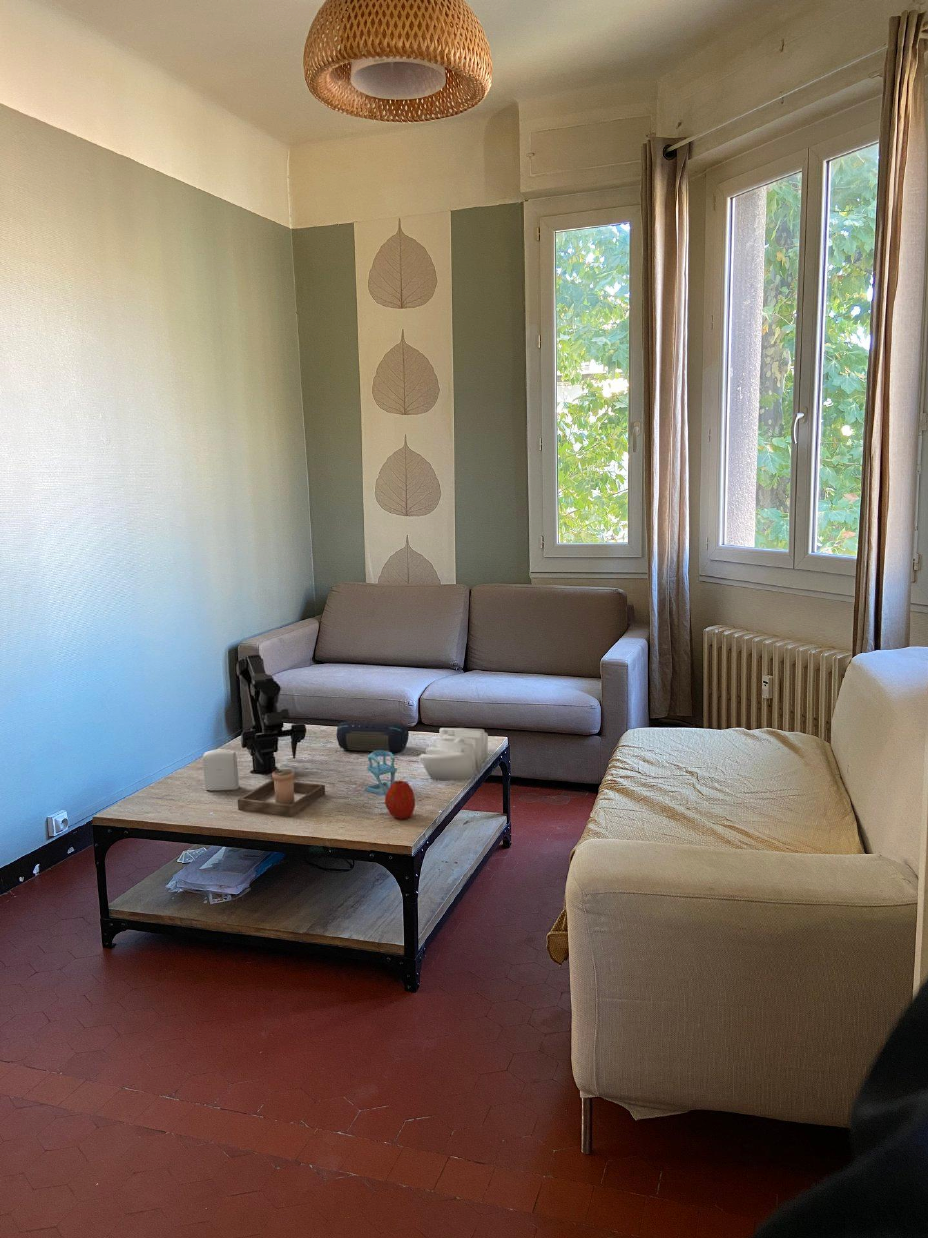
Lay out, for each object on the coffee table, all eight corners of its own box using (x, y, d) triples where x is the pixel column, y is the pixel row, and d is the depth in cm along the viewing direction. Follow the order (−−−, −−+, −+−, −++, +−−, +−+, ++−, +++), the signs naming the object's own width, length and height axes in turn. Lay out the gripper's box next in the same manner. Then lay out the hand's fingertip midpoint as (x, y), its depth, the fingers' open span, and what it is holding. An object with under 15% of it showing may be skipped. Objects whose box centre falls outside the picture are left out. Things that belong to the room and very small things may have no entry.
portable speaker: (332, 753, 304) (331, 725, 302) (343, 744, 314) (341, 717, 312) (403, 756, 298) (402, 727, 297) (411, 747, 308) (410, 719, 306)
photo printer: (203, 791, 270) (200, 752, 268) (207, 786, 274) (204, 748, 272) (237, 791, 270) (234, 751, 268) (240, 786, 274) (238, 747, 272)
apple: (380, 820, 244) (379, 782, 242) (394, 809, 251) (393, 773, 249) (407, 824, 240) (405, 786, 239) (421, 813, 248) (419, 776, 246)
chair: (378, 797, 261) (377, 758, 259) (364, 790, 268) (362, 751, 266) (401, 791, 265) (399, 753, 263) (386, 784, 272) (385, 746, 270)
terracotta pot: (270, 808, 255) (267, 775, 253) (281, 801, 260) (279, 768, 259) (288, 811, 252) (286, 777, 251) (300, 803, 258) (298, 770, 256)
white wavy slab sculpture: (465, 788, 267) (464, 754, 265) (414, 783, 272) (412, 750, 270) (496, 752, 300) (496, 722, 298) (450, 749, 305) (449, 719, 303)
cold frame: (238, 809, 255) (237, 799, 254) (273, 788, 271) (272, 778, 271) (292, 816, 248) (292, 806, 248) (325, 794, 265) (324, 784, 264)
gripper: (239, 704, 259) (248, 751, 250) (303, 696, 266) (313, 742, 257) (237, 724, 267) (245, 770, 259) (299, 716, 274) (309, 761, 266)
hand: (278, 760), depth 260 cm, fingers open, 9 cm apart
